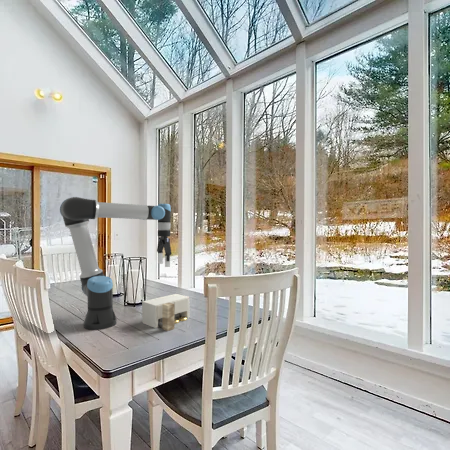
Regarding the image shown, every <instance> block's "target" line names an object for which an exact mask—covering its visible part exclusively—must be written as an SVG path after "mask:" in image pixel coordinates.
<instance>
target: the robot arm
mask: <svg viewBox="0 0 450 450" xmlns="http://www.w3.org/2000/svg"><path fill="white" fill-rule="evenodd" d="M171 210H172V209H171V204H169V203H158V204H157V205H147V204H132V203H131V204H130V203H129V204H128V203H119V202H118V203H115V202H104V201H103V202H101V201H97V200H96V199H89V198H83V197H78V196H73V197H69V198H66V199H65V200H63V201H62V202H61V204H60V207H59V213H60V215H61V217H62V220H63V223H64V226H65V228H68V229H69V232H70V235H71V239H72V243H73V246H74V250H75V253H76V257H77V260H78V265H79V267H80V271H81V274H80V275H79V279H80V283H81V290H82V291H81V292H82V293H83V294H84V295H85V296H86V297H87V312H86V315H85V318H84V320H83V328H85V329H86V330H89V331H90V330H91V331H93V330H94V331H99V330H104V329H106V330H107V329H109V328H112V327H114V326H115V325H117V317H116V313H115V311H114V308H113V307H114V306H113V305H114V304H113V302H114V301H113V300H114V299H113V298H114V297H113V294H114V293H113V287H114V285H113V279H112V278H111V277H110V276H106V275H105V274H104V270H103V269H102V268H100V267H99V264H98V261H97V260H98V259H97V256H96V253H95V249H94V246H93V242H92V239H91V234H90V230H89V228H88V224H89V222H90V220H95V219H97V218H100V219H101V218H102V219H104V218H106V219H131V220H144V221H146V220H149V221H151V220H153V221H154V220H155V221H157V237H158V242H157V247H156V252H157V264H158V265H162V264H163V263H164V268H170V267H171V256H172V255H173V254H172V249H171V239H170V238H168V237H170V236H171V226H172V224H171V220H172V219H171V217H172V211H171ZM163 253H165V254H164V255H163ZM163 259H164V260H163ZM163 261H164V262H163Z"/></svg>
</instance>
